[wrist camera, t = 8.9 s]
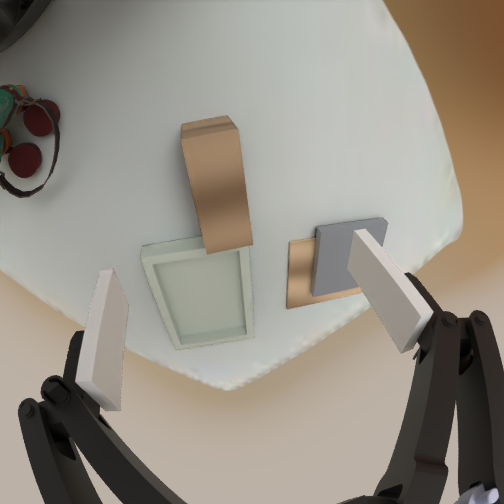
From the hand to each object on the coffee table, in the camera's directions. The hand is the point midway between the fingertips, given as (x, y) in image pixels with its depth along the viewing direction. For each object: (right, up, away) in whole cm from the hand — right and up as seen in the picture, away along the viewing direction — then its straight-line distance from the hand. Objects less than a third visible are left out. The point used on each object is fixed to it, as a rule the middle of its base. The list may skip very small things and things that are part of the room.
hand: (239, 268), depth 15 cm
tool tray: (-5, -4, +20) cm, 21 cm away
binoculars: (-20, +12, +4) cm, 24 cm away
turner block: (-3, +8, +11) cm, 14 cm away
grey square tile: (+12, +4, +17) cm, 21 cm away
